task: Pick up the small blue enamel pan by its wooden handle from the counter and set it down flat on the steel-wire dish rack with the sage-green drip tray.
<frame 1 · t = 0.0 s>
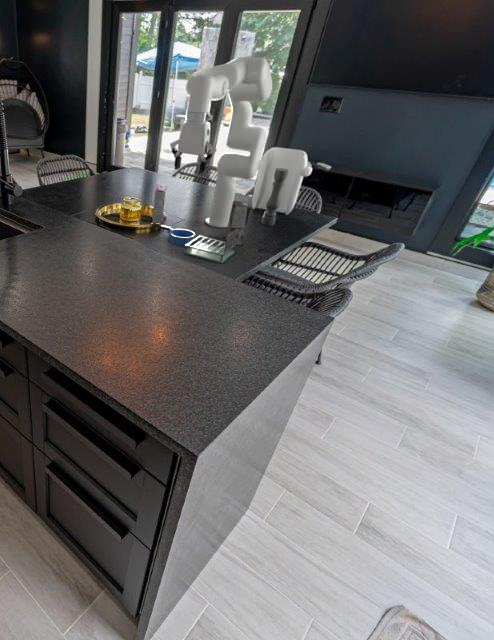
hand: (189, 170, 147), 31 cm above the worktop, tool pointing down, fingers open, 9 cm apart
dish rack: (209, 252, 165), on the worktop
coffee box: (233, 241, 177), on the worktop
toaster: (271, 210, 217), on the worktop
pan: (181, 240, 175), on the worktop
candy bar box: (157, 222, 195), on the worktop
candle holder: (267, 224, 197), on the worktop
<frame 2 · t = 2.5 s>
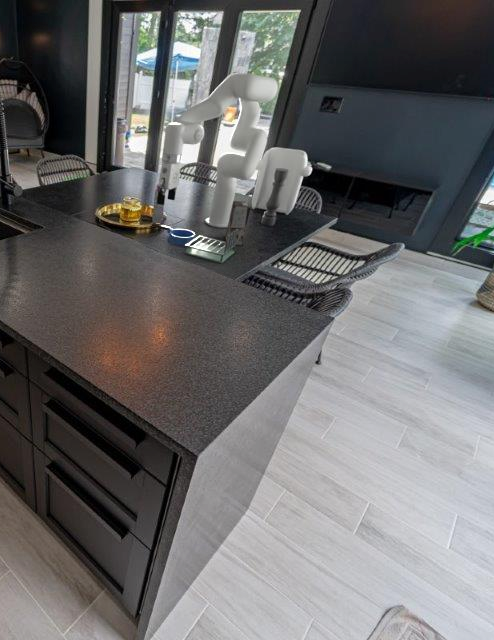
hand: (165, 201, 170), 15 cm above the worktop, tool pointing down, fingers open, 9 cm apart
nothing on the worktop moved.
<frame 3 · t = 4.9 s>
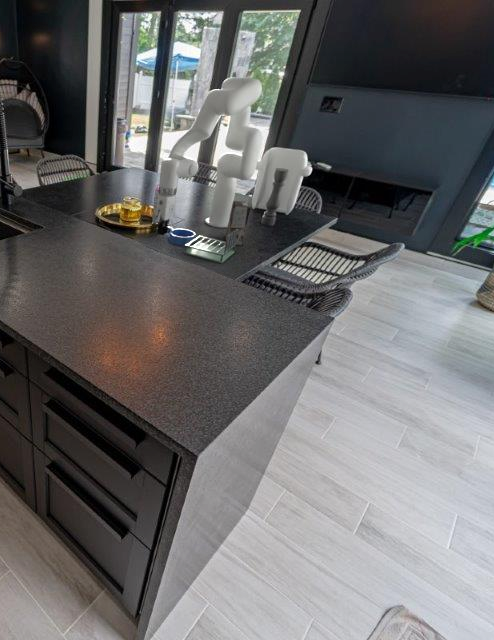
hand: (162, 233, 179), 1 cm above the worktop, tool pointing down, fingers closed on pan
pan: (181, 240, 175), on the worktop, touching gripper
everything else where it was.
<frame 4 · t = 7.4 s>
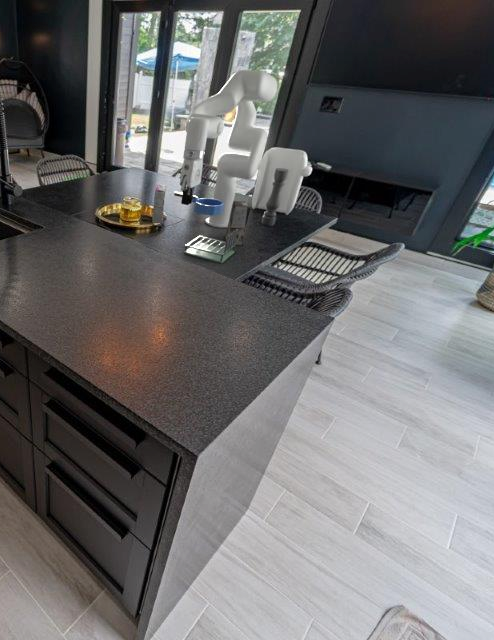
hand: (186, 203, 162), 17 cm above the worktop, tool pointing down, fingers closed on pan
pan: (207, 211, 158), point 16 cm above the worktop, touching gripper
everything else where it was.
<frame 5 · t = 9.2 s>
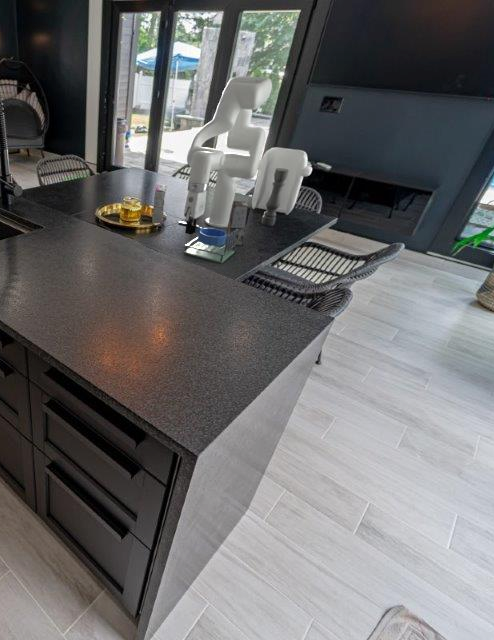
hand: (190, 232, 165), 6 cm above the worktop, tool pointing down, fingers closed on pan
pan: (211, 240, 162), point 5 cm above the worktop, touching gripper
everything else where it was.
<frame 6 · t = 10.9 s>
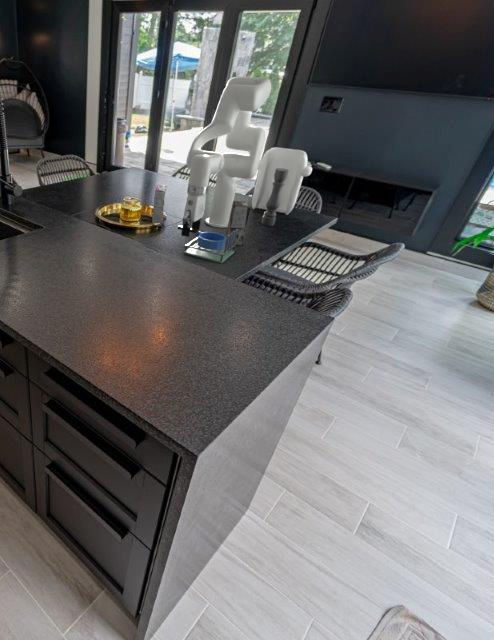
hand: (190, 232, 165), 6 cm above the worktop, tool pointing down, fingers open, 9 cm apart
pan: (210, 244, 163), point 3 cm above the worktop, touching dish rack
everything else where it was.
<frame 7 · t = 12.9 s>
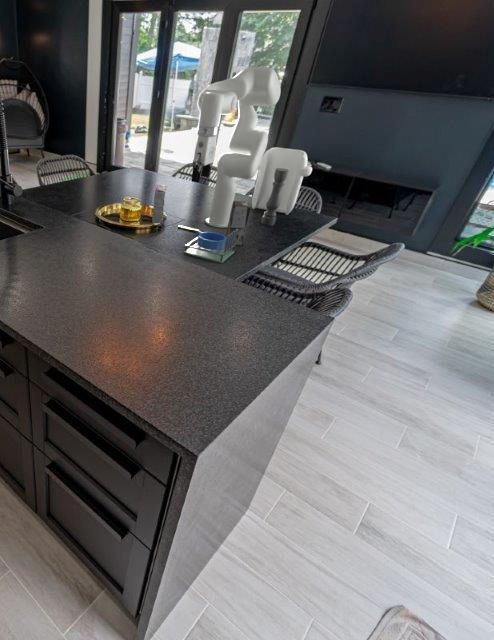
hand: (200, 179, 160), 26 cm above the worktop, tool pointing down, fingers open, 9 cm apart
nothing on the worktop moved.
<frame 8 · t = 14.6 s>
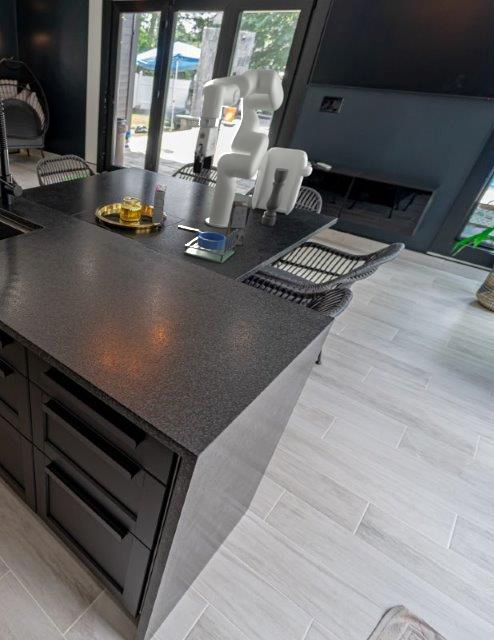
hand: (201, 170, 161), 28 cm above the worktop, tool pointing down, fingers open, 9 cm apart
nothing on the worktop moved.
at the end: pan 0.1 cm off-centre on the dish rack, point 3.5 cm above the dish rack's base; pan tilted 0°; the gripper is holding nothing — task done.
